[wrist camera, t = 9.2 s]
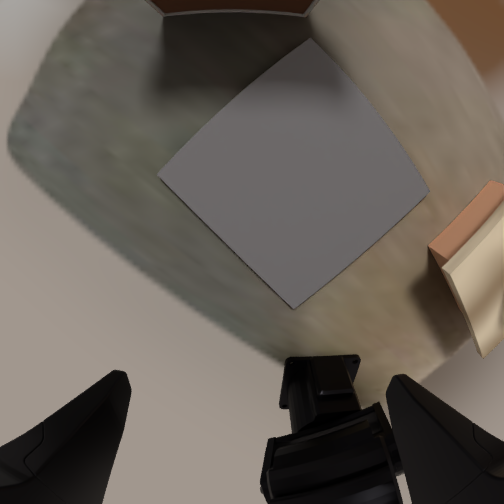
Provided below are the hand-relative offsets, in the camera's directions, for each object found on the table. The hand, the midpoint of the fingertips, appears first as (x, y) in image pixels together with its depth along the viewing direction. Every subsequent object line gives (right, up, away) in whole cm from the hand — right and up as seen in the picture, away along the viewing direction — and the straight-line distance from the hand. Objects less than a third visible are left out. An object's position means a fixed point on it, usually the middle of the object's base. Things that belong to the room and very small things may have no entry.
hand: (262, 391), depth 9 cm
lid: (+19, +3, +7) cm, 20 cm away
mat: (+3, +9, +9) cm, 13 cm away
